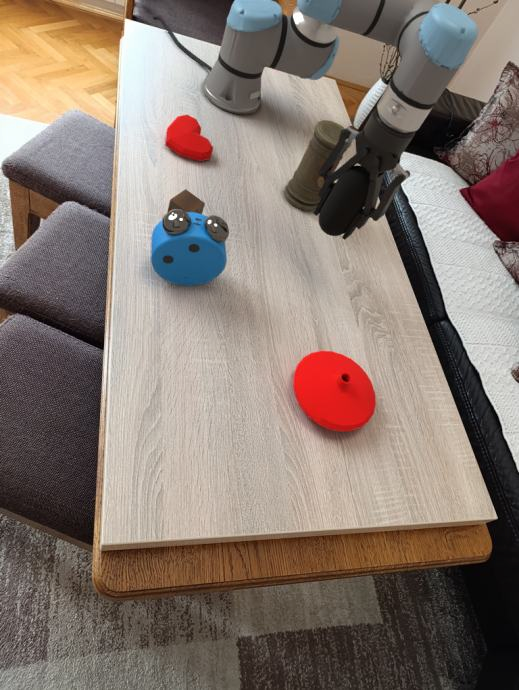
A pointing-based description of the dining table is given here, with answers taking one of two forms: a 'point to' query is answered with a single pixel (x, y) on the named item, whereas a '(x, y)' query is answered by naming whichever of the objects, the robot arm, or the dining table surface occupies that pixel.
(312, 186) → the container
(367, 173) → the decorative object
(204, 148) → the heart
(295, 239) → the dining table surface
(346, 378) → the flat cone with hole
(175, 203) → the walnut block
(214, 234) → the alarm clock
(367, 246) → the dining table surface
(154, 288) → the dining table surface
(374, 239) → the dining table surface
